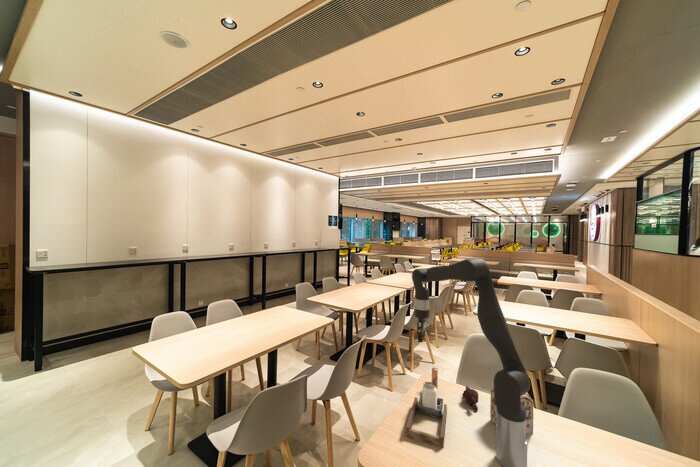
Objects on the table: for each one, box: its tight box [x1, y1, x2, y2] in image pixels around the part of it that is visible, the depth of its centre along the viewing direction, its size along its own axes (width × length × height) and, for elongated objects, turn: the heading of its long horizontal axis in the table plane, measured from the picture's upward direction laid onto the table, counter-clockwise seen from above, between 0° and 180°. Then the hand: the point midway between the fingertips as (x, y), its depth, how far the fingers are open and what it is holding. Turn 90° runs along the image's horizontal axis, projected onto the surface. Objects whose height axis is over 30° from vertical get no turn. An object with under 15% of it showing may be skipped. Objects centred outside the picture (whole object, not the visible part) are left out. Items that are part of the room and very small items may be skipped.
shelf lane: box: [405, 397, 448, 449], centre depth 118 cm, size 14×22×4 cm, turn 157°
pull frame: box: [416, 367, 444, 420], centre depth 135 cm, size 10×26×10 cm, turn 157°
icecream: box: [462, 385, 479, 412], centre depth 134 cm, size 7×7×15 cm
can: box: [421, 381, 438, 410], centre depth 127 cm, size 6×6×12 cm
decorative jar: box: [489, 387, 534, 436], centre depth 118 cm, size 12×12×18 cm
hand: (421, 339), depth 141 cm, fingers open, 8 cm apart
